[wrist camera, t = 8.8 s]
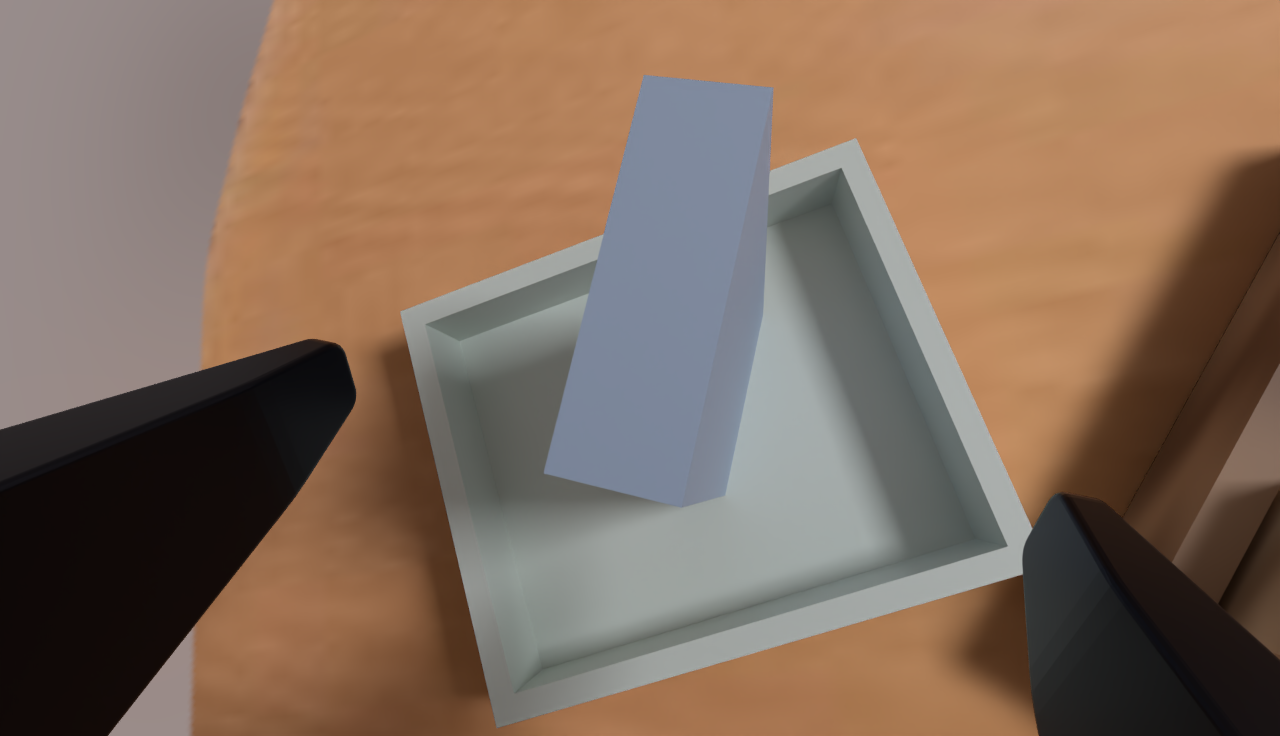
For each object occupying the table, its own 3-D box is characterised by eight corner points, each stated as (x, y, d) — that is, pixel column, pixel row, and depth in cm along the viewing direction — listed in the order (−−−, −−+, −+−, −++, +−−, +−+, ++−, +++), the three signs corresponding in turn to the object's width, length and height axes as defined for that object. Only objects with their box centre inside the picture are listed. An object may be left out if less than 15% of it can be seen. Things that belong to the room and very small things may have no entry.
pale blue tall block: (725, 495, 16) (681, 507, 7) (666, 481, 17) (543, 473, 7) (763, 314, 17) (773, 87, 7) (705, 304, 17) (644, 75, 8)
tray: (533, 693, 17) (496, 728, 14) (444, 333, 19) (400, 311, 17) (1003, 554, 15) (1049, 566, 13) (842, 185, 18) (855, 137, 15)
